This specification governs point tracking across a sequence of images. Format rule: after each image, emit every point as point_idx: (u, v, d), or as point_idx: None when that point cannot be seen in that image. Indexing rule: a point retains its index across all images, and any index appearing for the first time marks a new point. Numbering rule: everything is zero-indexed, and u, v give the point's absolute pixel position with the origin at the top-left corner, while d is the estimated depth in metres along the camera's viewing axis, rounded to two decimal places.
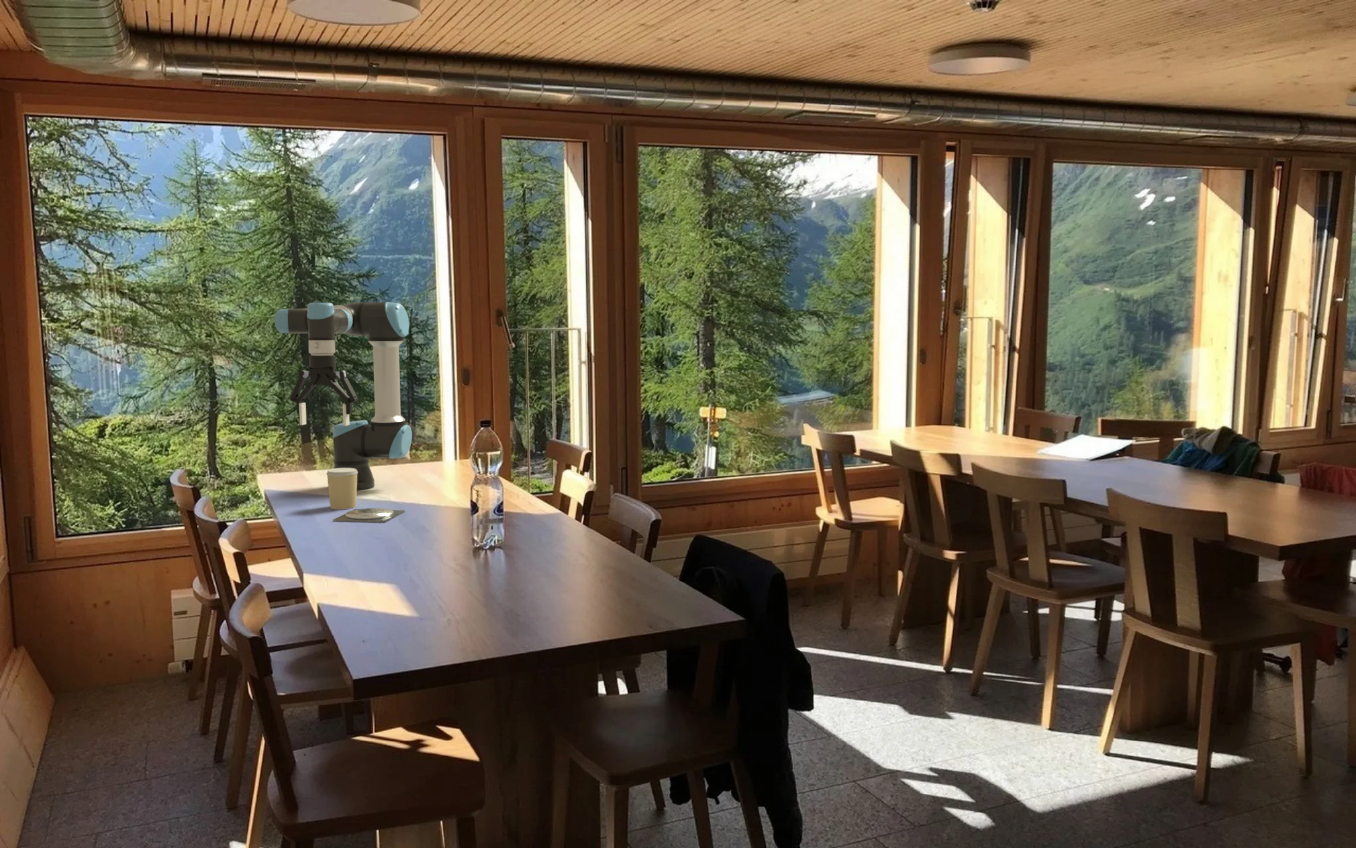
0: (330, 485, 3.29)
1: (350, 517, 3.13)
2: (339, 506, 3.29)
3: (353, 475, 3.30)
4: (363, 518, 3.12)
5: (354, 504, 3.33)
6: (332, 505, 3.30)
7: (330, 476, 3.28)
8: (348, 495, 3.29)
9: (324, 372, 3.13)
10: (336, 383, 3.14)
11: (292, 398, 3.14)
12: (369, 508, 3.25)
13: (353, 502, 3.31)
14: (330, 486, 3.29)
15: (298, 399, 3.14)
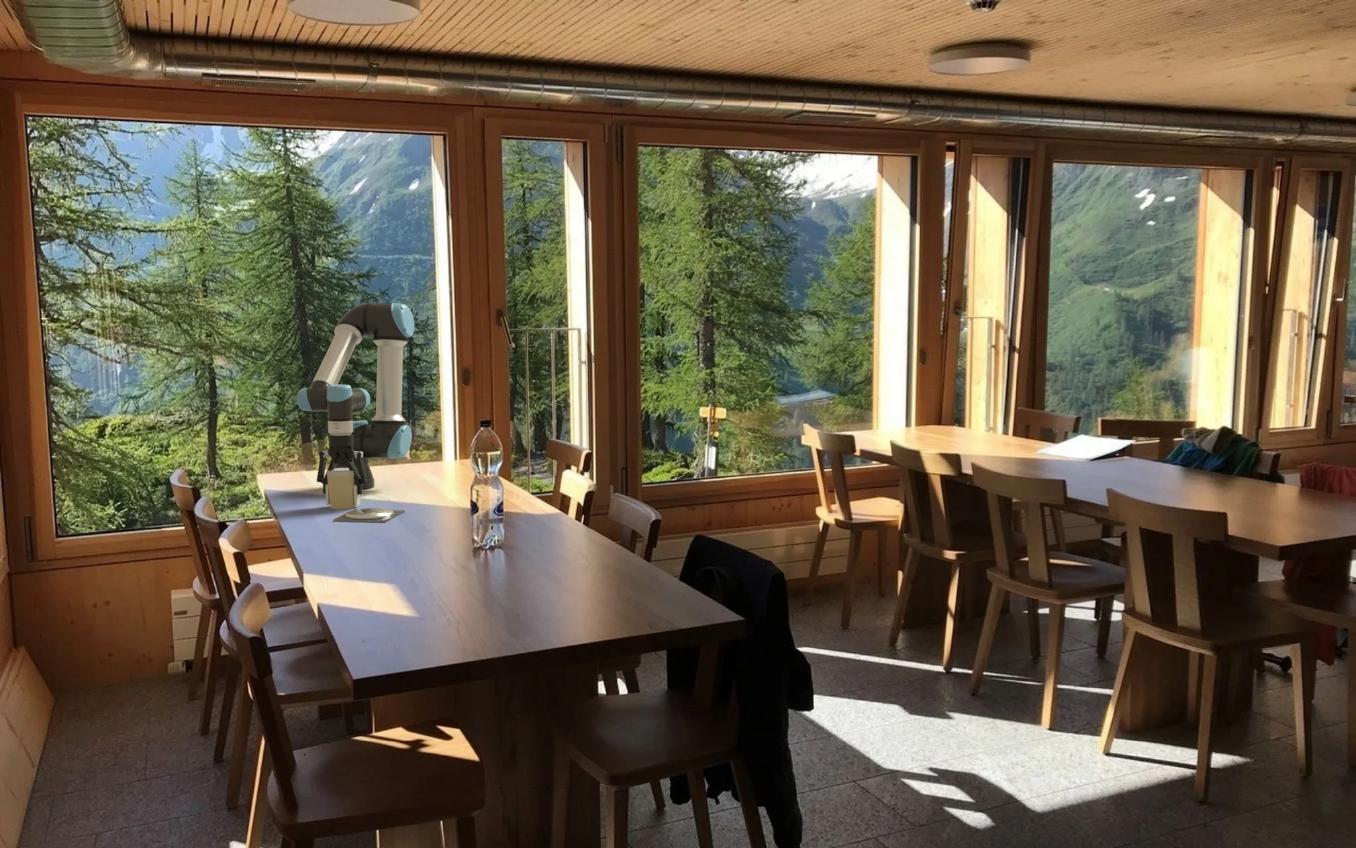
0: (329, 485, 3.29)
1: (350, 517, 3.13)
2: (339, 506, 3.29)
3: (353, 475, 3.30)
4: (363, 518, 3.12)
5: None
6: (332, 505, 3.30)
7: (330, 476, 3.28)
8: (348, 495, 3.29)
9: (343, 449, 3.30)
10: (352, 463, 3.31)
11: (319, 479, 3.31)
12: (369, 508, 3.25)
13: (353, 502, 3.31)
14: (330, 486, 3.29)
15: (324, 480, 3.31)
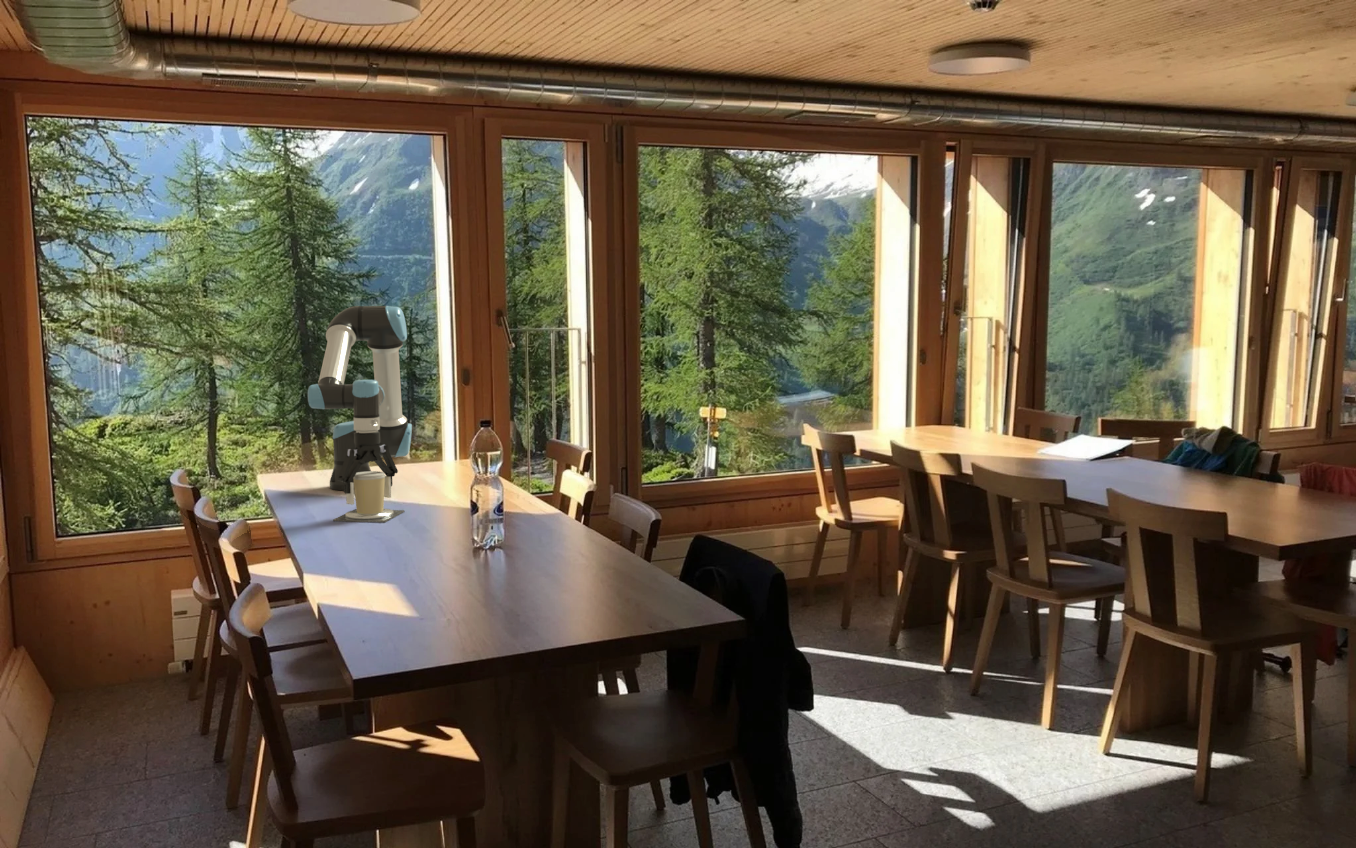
0: (369, 490, 3.14)
1: (350, 517, 3.13)
2: (379, 510, 3.17)
3: None
4: (363, 518, 3.12)
5: None
6: (371, 511, 3.15)
7: (371, 480, 3.14)
8: (383, 498, 3.19)
9: (372, 448, 3.16)
10: None
11: (345, 479, 3.09)
12: None
13: None
14: (370, 491, 3.14)
15: (350, 479, 3.11)
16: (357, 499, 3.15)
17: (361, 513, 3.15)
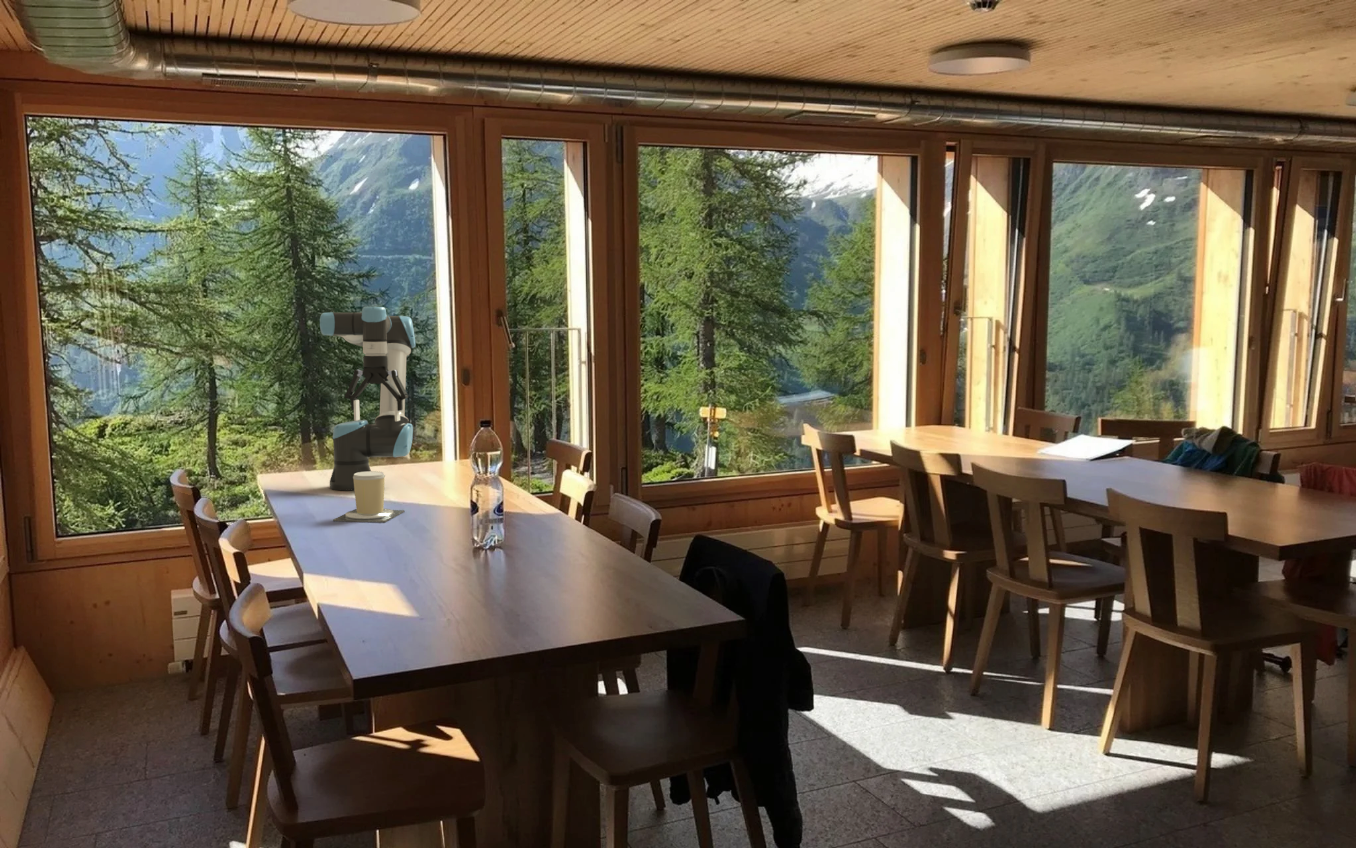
0: (369, 490, 3.14)
1: (350, 517, 3.13)
2: (379, 510, 3.17)
3: None
4: (363, 518, 3.12)
5: None
6: (371, 511, 3.15)
7: (371, 480, 3.14)
8: (383, 498, 3.19)
9: (377, 371, 3.36)
10: (388, 381, 3.38)
11: (347, 395, 3.38)
12: None
13: None
14: (370, 491, 3.14)
15: (353, 396, 3.38)
16: (357, 499, 3.15)
17: (361, 513, 3.15)
